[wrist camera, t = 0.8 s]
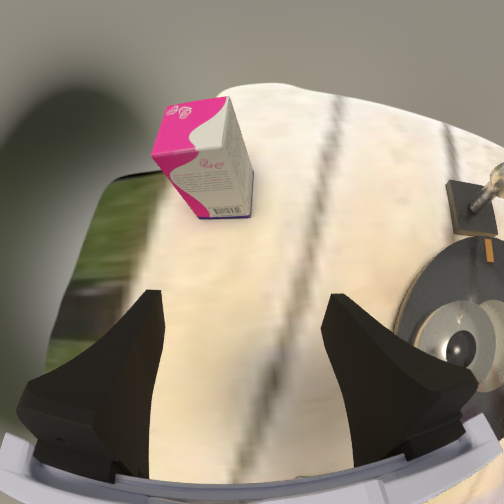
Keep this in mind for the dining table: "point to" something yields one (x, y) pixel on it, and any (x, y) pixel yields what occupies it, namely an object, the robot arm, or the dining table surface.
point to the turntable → (469, 289)
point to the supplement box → (206, 158)
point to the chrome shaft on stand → (475, 204)
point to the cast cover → (458, 336)
